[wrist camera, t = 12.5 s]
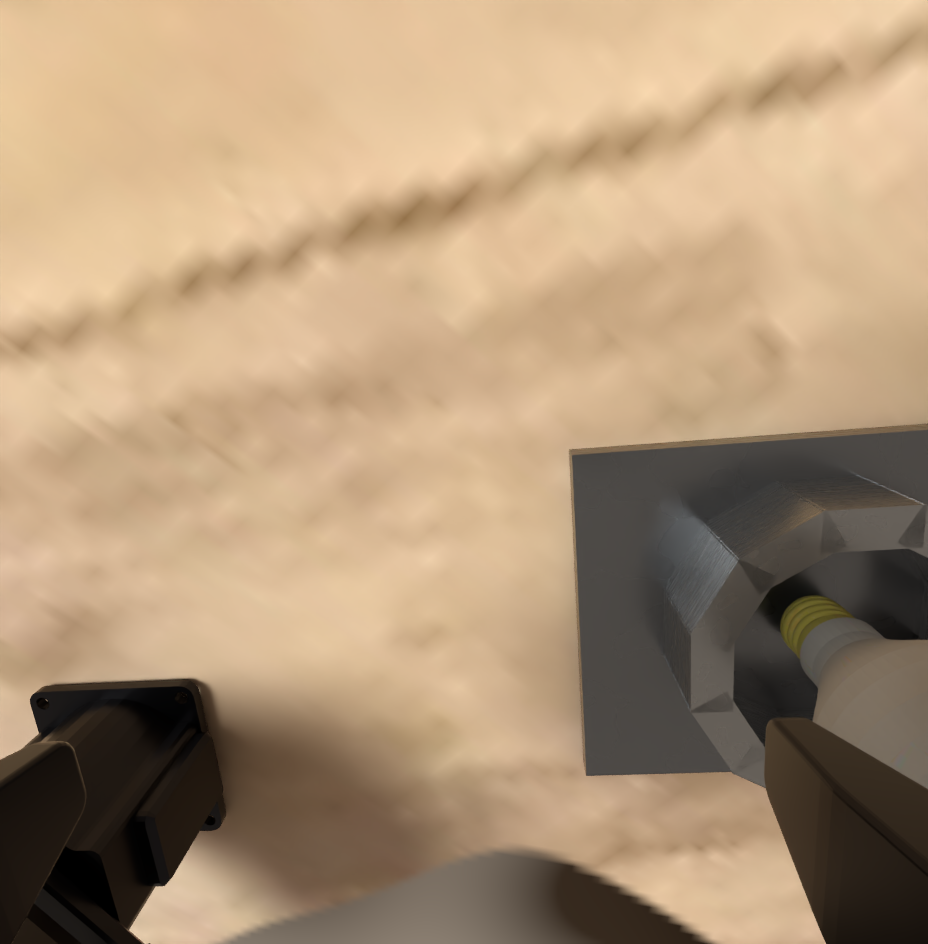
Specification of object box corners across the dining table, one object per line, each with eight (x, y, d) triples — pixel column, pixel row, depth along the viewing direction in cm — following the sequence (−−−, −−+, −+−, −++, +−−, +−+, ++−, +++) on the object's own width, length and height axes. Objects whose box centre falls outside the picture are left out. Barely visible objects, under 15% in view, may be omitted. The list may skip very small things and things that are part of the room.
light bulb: (846, 506, 19) (1196, 702, 9) (920, 641, 20) (1310, 951, 10) (688, 588, 20) (851, 842, 10) (764, 713, 21) (981, 1055, 11)
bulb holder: (583, 760, 23) (599, 845, 19) (569, 449, 20) (584, 479, 16) (948, 749, 22) (1040, 837, 18) (990, 419, 19) (1110, 443, 15)
